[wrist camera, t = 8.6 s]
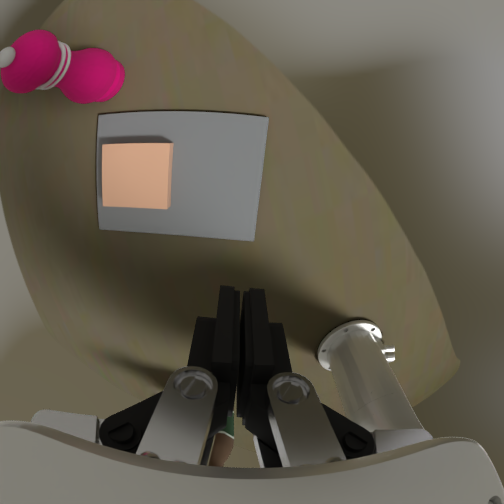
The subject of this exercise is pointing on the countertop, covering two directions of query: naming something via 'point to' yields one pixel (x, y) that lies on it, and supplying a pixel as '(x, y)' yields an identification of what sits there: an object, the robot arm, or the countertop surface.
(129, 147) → the tile
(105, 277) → the countertop surface
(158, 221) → the mat
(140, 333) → the countertop surface
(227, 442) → the beer bottle
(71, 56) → the pepper mill
